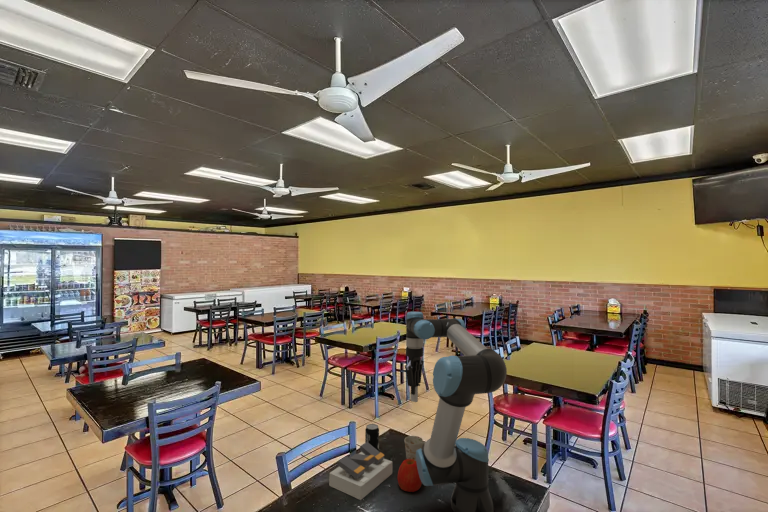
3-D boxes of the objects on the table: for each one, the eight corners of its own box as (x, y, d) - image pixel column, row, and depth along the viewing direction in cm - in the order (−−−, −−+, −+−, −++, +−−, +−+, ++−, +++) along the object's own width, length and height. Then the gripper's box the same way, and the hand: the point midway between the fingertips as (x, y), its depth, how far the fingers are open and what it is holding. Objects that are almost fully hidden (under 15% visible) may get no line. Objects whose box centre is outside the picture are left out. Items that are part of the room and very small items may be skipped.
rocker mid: (375, 461, 149) (374, 455, 150) (368, 466, 145) (367, 460, 146) (356, 458, 155) (355, 452, 155) (349, 463, 151) (348, 457, 151)
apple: (424, 482, 149) (424, 455, 149) (420, 497, 139) (420, 469, 139) (400, 477, 151) (400, 452, 152) (394, 492, 141) (394, 464, 142)
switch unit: (392, 473, 154) (392, 457, 155) (360, 500, 136) (360, 482, 137) (362, 462, 163) (362, 447, 164) (329, 485, 145) (329, 468, 146)
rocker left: (364, 473, 144) (365, 468, 143) (356, 479, 140) (357, 473, 140) (345, 460, 149) (346, 455, 149) (337, 465, 145) (338, 460, 145)
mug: (401, 459, 166) (401, 437, 166) (424, 454, 171) (424, 432, 171) (409, 468, 158) (410, 445, 159) (434, 462, 164) (434, 440, 164)
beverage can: (377, 456, 169) (377, 429, 169) (363, 454, 170) (363, 428, 171) (380, 449, 175) (380, 424, 176) (367, 447, 177) (367, 422, 177)
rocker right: (383, 459, 155) (384, 455, 155) (377, 464, 152) (378, 459, 151) (365, 445, 161) (367, 441, 160) (359, 449, 157) (360, 445, 157)
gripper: (414, 343, 167) (414, 395, 166) (399, 348, 157) (399, 403, 156) (428, 345, 163) (428, 398, 162) (414, 350, 153) (414, 407, 151)
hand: (414, 401), depth 159 cm, fingers closed
